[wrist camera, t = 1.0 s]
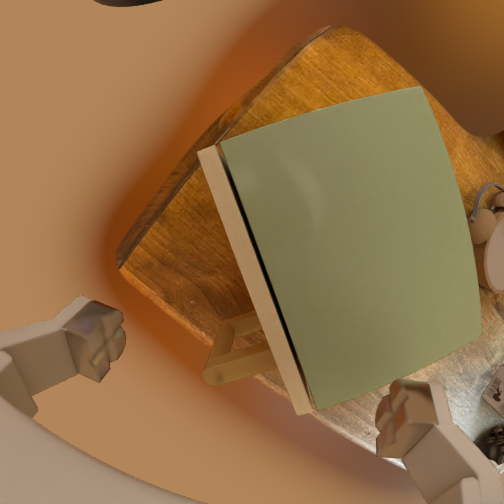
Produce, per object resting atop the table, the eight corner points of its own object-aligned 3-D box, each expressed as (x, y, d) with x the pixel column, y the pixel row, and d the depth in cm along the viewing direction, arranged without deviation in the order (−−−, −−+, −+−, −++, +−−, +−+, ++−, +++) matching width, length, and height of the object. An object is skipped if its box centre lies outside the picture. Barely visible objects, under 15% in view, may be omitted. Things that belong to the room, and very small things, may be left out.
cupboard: (292, 316, 34) (317, 411, 17) (242, 178, 33) (218, 142, 15) (389, 278, 34) (483, 335, 16) (345, 143, 32) (421, 85, 14)
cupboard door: (233, 336, 35) (209, 437, 17) (180, 201, 33) (100, 195, 16) (290, 317, 34) (313, 411, 17) (239, 178, 33) (214, 144, 15)
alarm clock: (493, 313, 31) (473, 212, 27) (472, 299, 35) (447, 205, 31) (539, 266, 30) (523, 169, 26) (517, 256, 34) (498, 165, 30)
